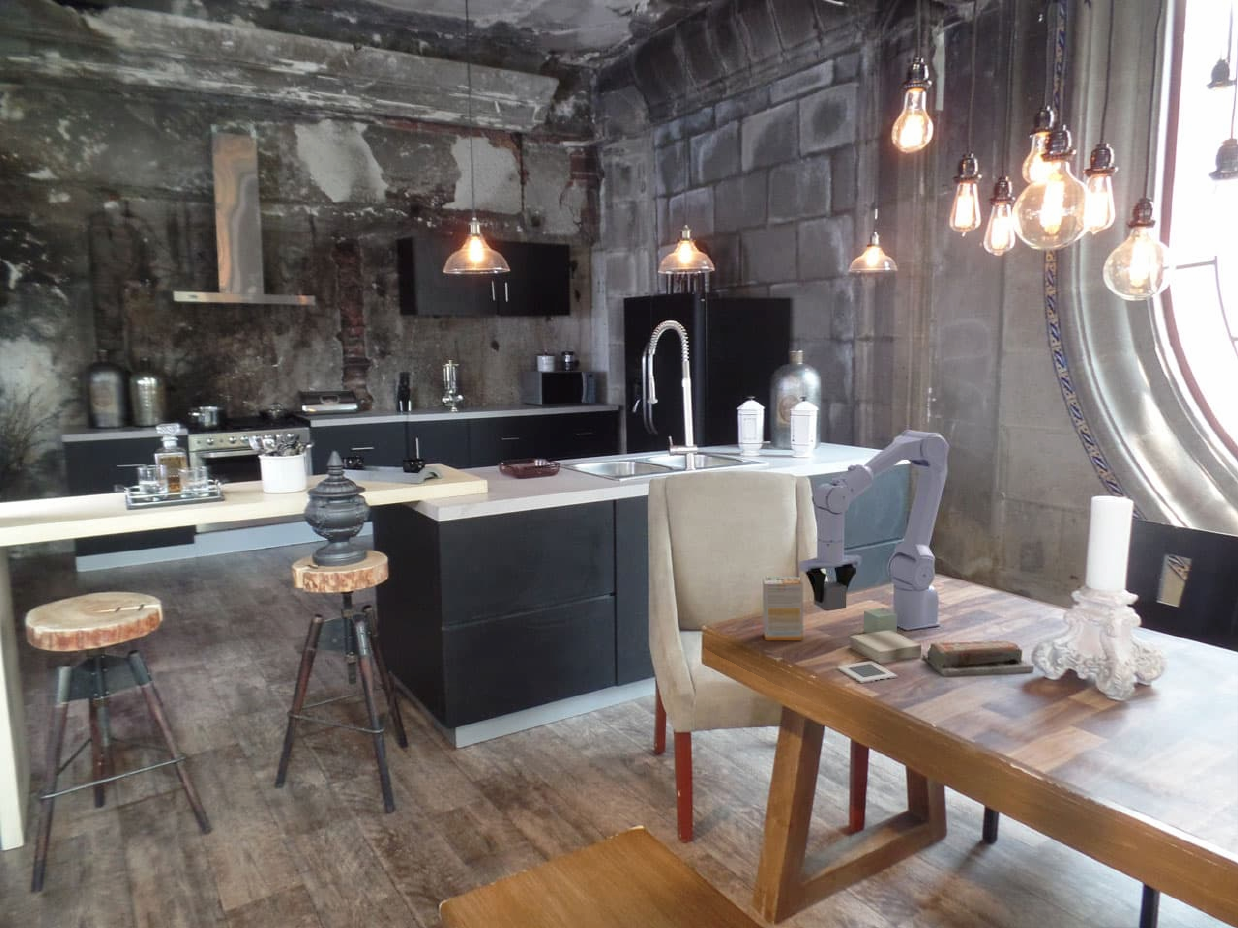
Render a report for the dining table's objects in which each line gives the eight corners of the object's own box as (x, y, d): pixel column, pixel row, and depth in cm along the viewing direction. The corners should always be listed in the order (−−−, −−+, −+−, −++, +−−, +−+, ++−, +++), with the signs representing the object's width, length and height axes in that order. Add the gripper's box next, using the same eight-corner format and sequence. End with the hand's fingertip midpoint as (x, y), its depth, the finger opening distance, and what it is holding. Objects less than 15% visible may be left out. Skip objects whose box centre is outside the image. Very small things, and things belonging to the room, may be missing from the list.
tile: (871, 662, 168) (872, 660, 168) (896, 677, 161) (897, 674, 161) (837, 668, 166) (837, 665, 166) (861, 683, 158) (861, 680, 158)
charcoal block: (833, 601, 187) (833, 579, 186) (846, 608, 182) (846, 585, 181) (813, 604, 185) (814, 582, 185) (826, 610, 181) (826, 588, 180)
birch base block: (889, 643, 180) (890, 629, 180) (920, 658, 171) (921, 644, 170) (850, 649, 177) (850, 636, 177) (879, 666, 168) (879, 651, 167)
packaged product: (944, 654, 160) (922, 637, 170) (944, 678, 161) (921, 660, 170) (1035, 650, 161) (1007, 633, 171) (1034, 674, 162) (1007, 656, 172)
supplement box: (800, 633, 186) (800, 576, 184) (802, 641, 182) (803, 582, 180) (762, 633, 187) (762, 576, 185) (764, 640, 182) (764, 582, 181)
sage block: (882, 629, 188) (883, 607, 188) (896, 636, 184) (897, 614, 183) (863, 631, 187) (864, 610, 186) (877, 639, 182) (877, 616, 181)
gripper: (848, 532, 188) (848, 591, 189) (791, 538, 183) (791, 598, 185) (867, 539, 181) (866, 599, 183) (808, 545, 176) (808, 607, 178)
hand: (830, 599), depth 183 cm, fingers closed on charcoal block, 5 cm apart
